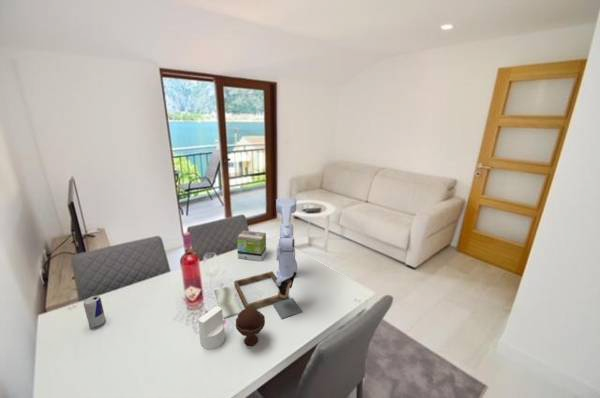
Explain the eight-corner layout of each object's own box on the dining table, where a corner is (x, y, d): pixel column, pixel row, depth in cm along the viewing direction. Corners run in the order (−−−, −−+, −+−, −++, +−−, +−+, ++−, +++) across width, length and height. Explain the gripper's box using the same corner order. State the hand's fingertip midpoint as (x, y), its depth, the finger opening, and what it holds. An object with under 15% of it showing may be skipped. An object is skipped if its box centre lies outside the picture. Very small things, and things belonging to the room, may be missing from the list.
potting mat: (292, 298, 125) (292, 297, 125) (302, 312, 117) (302, 311, 116) (272, 304, 120) (272, 303, 120) (281, 319, 112) (281, 318, 112)
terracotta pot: (281, 288, 121) (283, 275, 118) (291, 293, 119) (293, 280, 116) (275, 294, 116) (277, 281, 114) (285, 300, 114) (288, 286, 112)
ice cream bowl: (270, 335, 104) (270, 303, 99) (254, 357, 94) (253, 323, 90) (248, 326, 108) (247, 295, 104) (230, 346, 98) (228, 313, 94)
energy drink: (109, 321, 108) (103, 297, 105) (95, 331, 104) (89, 305, 100) (100, 318, 110) (93, 293, 106) (86, 327, 105) (79, 302, 102)
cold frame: (272, 276, 142) (272, 271, 141) (288, 298, 125) (288, 293, 124) (214, 291, 128) (214, 286, 128) (223, 319, 111) (223, 313, 110)
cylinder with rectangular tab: (211, 353, 95) (208, 326, 92) (195, 342, 100) (192, 316, 96) (229, 336, 103) (228, 311, 99) (214, 327, 107) (211, 302, 104)
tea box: (237, 259, 158) (236, 236, 153) (243, 251, 167) (242, 229, 163) (261, 261, 156) (261, 239, 151) (266, 253, 165) (266, 231, 161)
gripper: (286, 253, 120) (286, 279, 124) (269, 269, 108) (269, 297, 112) (300, 257, 117) (299, 284, 121) (284, 274, 105) (283, 302, 109)
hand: (286, 290), depth 116 cm, fingers closed on terracotta pot, 5 cm apart
